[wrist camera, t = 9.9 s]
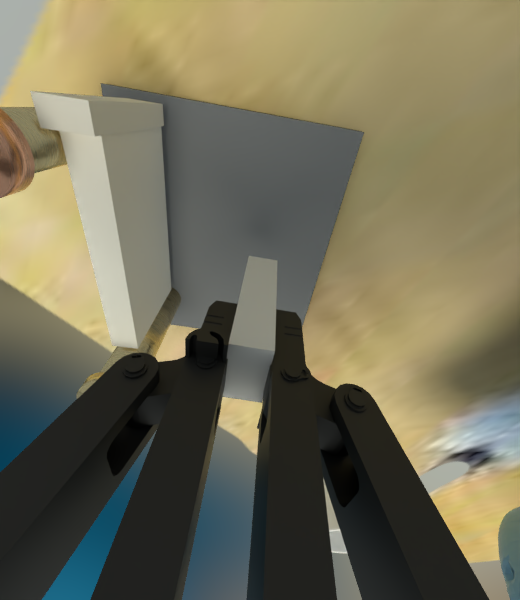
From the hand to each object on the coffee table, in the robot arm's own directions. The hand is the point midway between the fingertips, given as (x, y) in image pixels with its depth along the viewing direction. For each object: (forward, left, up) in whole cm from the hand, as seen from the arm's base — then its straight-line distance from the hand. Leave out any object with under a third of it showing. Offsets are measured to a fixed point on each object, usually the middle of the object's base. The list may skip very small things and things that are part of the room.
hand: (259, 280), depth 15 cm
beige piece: (+7, -1, -5) cm, 9 cm away
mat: (+3, +1, -7) cm, 7 cm away
